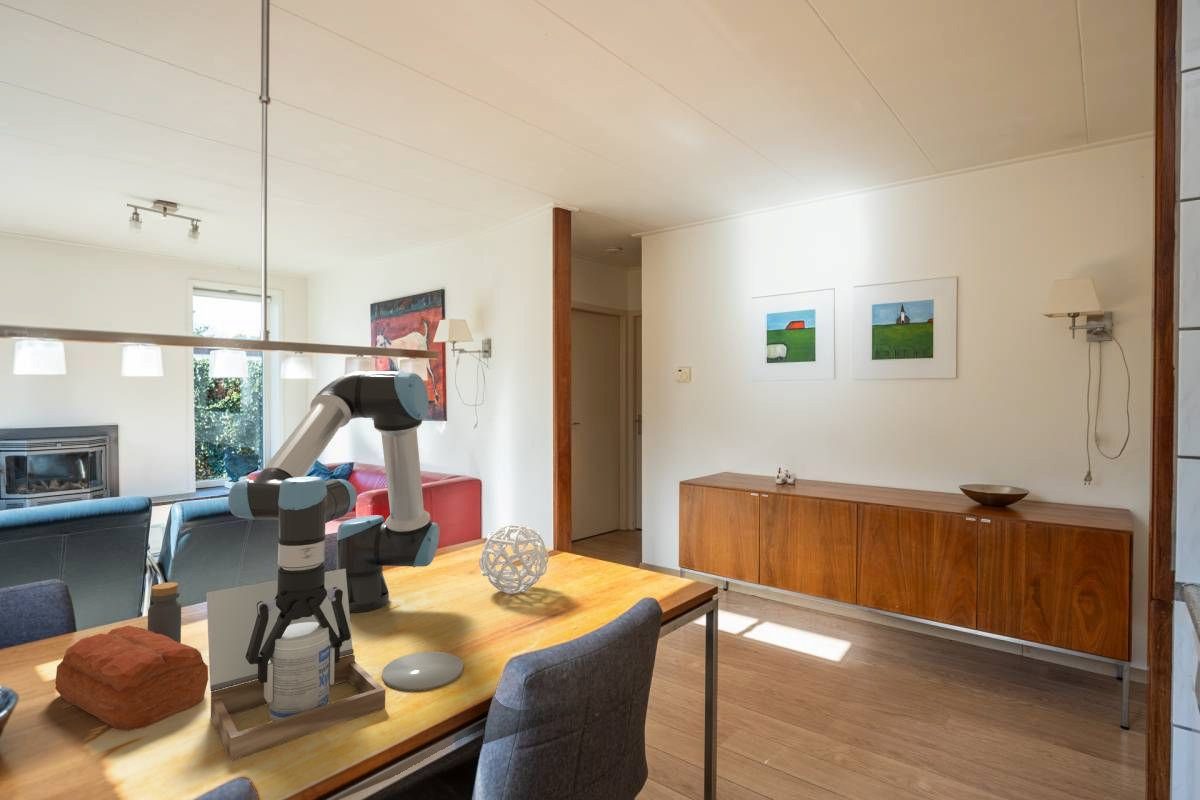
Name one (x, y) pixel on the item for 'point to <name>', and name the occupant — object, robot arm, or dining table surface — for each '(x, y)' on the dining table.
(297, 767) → the dining table surface
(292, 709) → the supplement tub
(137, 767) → the dining table surface
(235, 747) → the tray
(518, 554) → the decorative ball
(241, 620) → the lid
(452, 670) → the saucer
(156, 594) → the bottle
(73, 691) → the bread
